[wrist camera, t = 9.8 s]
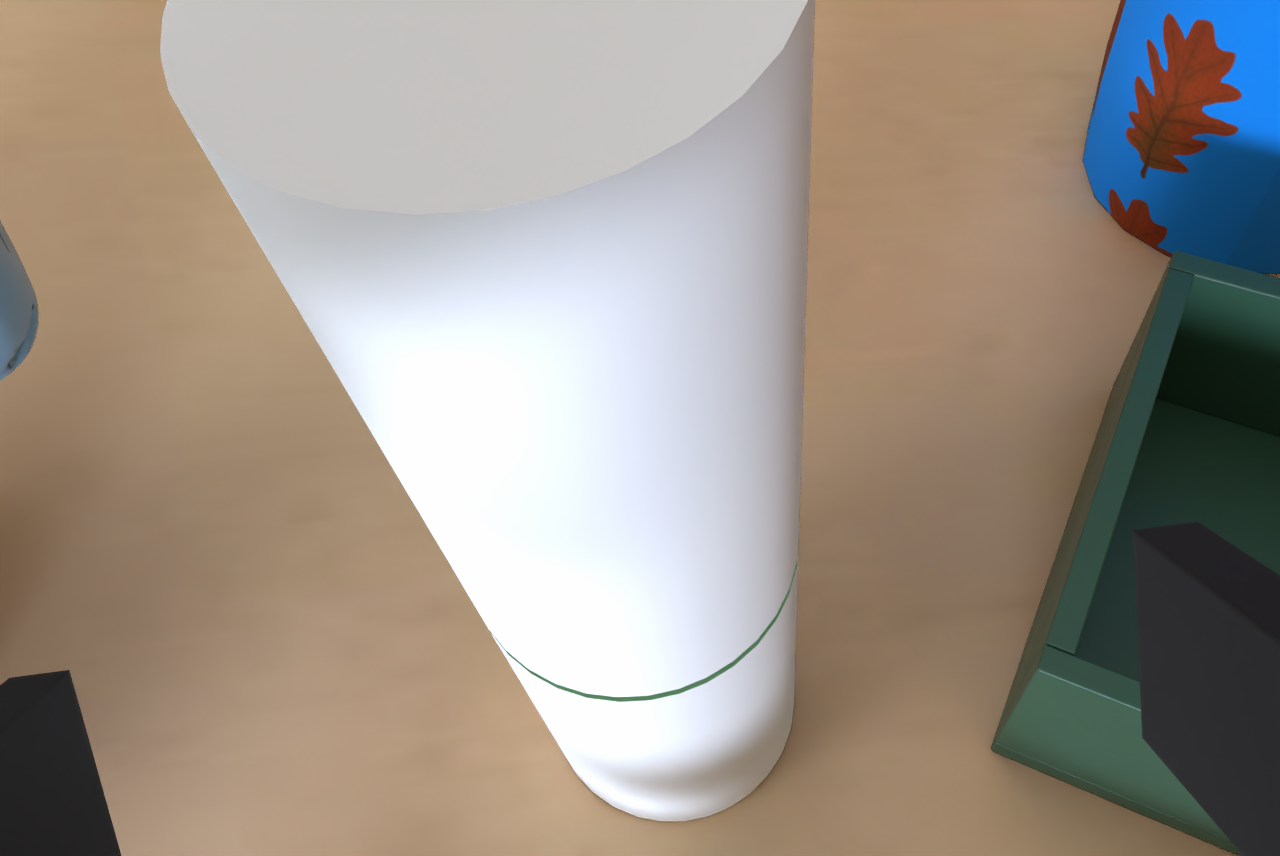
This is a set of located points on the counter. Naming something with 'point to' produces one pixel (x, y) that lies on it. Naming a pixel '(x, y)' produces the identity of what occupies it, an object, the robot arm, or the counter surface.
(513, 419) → the cylindrical container
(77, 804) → the robot arm
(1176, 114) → the thermos
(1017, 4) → the counter surface
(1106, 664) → the tray
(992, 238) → the counter surface
